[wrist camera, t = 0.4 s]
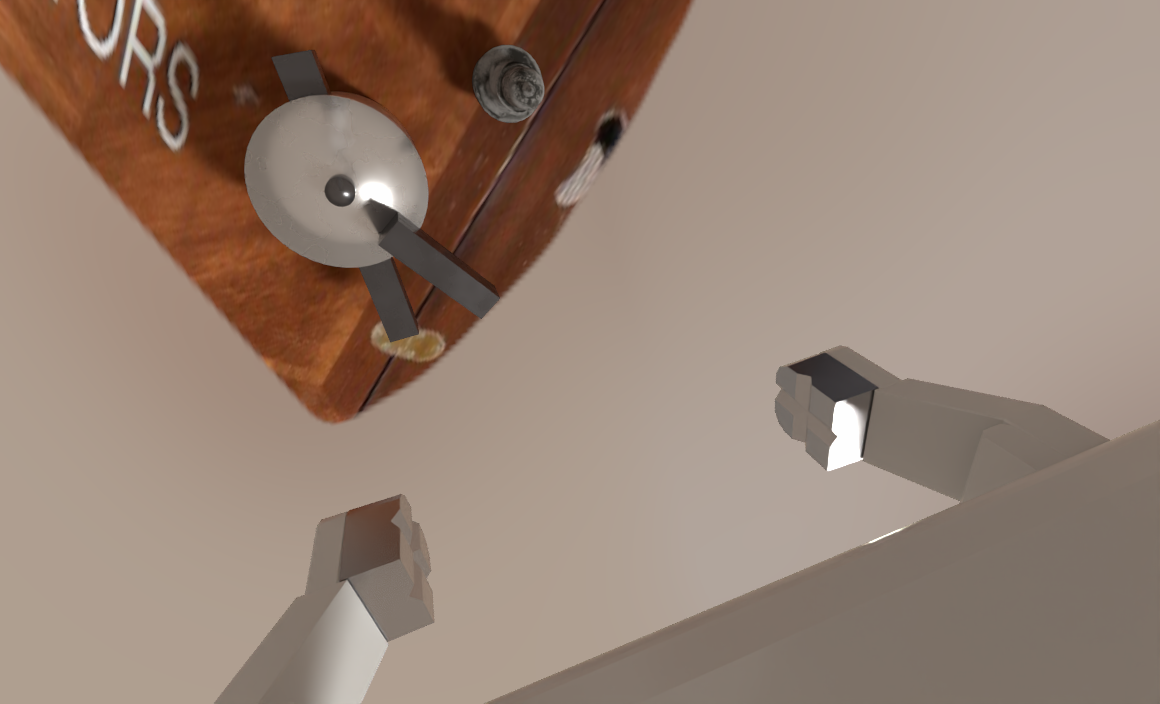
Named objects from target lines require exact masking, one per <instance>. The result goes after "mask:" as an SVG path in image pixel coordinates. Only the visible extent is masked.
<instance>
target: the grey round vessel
mask: <svg viewBox="0 0 1160 704" xmlns="http://www.w3.org/2000/svg"><path fill="white" fill-rule="evenodd" d="M472 83H473V90H474V93H475V96H476V98H477V99H478V101H479V103H480V104H481V106H482V108H483V109H484V110H485V111H486V112H487V113H488V114H489V115H490V116H492V117H493V118H495V119H497V120H499V121H503V122H506V123H512V122H518V121H521V120H524V119H526V118H527V117H528V116H530V115H531V114H532V113H533V112H534V111H535V109H536V108H537V106H538V105H539V104H540V102H541V101H542V99H543V96H544V84H543V80H542V76H541V72H540V69H539V67H538V65H537V63H536V61H535V60H534V59H533V58H532V57H531V55H530V54H529V53H527V52H526V51H524V50H523V49H521V48H519V47H516V46H513V45H500V46H497V47H494V48H492V49H491V50H489V51H488V52H486V53H485V54H484V55H483V56H482V57H481V58H480V59H479V61H478V62H477V63H476V66H475V68H474V71H473V77H472Z"/></svg>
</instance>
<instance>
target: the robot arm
mask: <svg viewBox="0 0 1160 704" xmlns="http://www.w3.org/2000/svg"><path fill="white" fill-rule="evenodd" d="M776 384H777V385H778V386H779V387H780V388H781V391H780V392H779V394H778V396H777V397H776V399H775V413H776V416H777V419H778V422H779V424H780V425H781V427H782V428H783V430H784V431H785V432H786V433H787V434H788V435H789V436H790V437H791V438H792V439H795V440H798V441H802V442H805V448H806V452H807V453H808V454H809V455H810V456H811V457H812V458H813V459H814V460H816V461H817V462H818V463H819V464H820V465H821V466H822V467H823V468H824V469H825V470H826V471H829V470H832V469H835V468H838V467H841V466H844V465H846V464H849V463H852V462H855V461H858V460H861V459H863V461H864V462H867V463H869V464H871V465H874V466H876V467H878V468H881V469H883V470H886V471H888V472H891V473H893V474H895V475H898V476H900V477H903V478H905V479H907V480H910V481H912V482H915V483H917V484H920V485H922V486H925V487H927V488H929V489H932V490H934V491H937V492H939V493H941V494H944V495H946V496H949V497H951V498H953V499H956V500H958V501H960V503H959V504H958V505H955V506H953V507H951V508H948V509H946V510H943V511H941V512H939V513H937V514H934V515H932V516H929V517H927V518H925V519H922V520H920V521H917V522H915V523H912V524H910V525H908V526H906V527H903V528H901V529H898V530H896V531H893V532H891V533H889V534H887V535H884V536H882V537H879V538H877V539H875V540H872V541H870V542H867V543H865V544H863V545H860V546H858V547H856V548H853V549H851V550H849V551H846V552H844V553H841V554H839V555H837V556H834V557H832V558H830V559H827V560H825V561H823V562H820V563H818V564H815V565H813V566H811V567H809V568H806V569H804V570H801V571H799V572H796V573H794V574H792V575H789V576H787V577H785V578H782V579H780V580H777V581H775V582H773V583H770V584H768V585H766V586H763V587H761V588H758V589H756V590H754V591H751V592H749V593H746V594H745V595H742V596H740V597H737V598H734V599H732V600H730V601H727V602H725V603H723V604H720V605H718V606H715V607H713V608H711V609H708V610H706V611H703V612H701V613H699V614H697V615H694V616H692V617H689V618H687V619H684V620H682V621H680V622H677V623H675V624H672V625H670V626H668V627H665V628H663V629H661V630H658V631H656V632H653V633H651V634H649V635H646V636H644V637H642V638H639V639H637V640H635V641H632V642H630V643H627V644H625V645H623V646H620V647H618V648H615V649H613V650H611V651H608V652H606V653H603V654H601V655H599V656H596V657H594V658H592V659H589V660H587V661H584V662H582V663H580V664H577V665H575V666H572V667H570V668H568V669H565V670H563V671H561V672H558V673H556V674H553V675H551V676H549V677H546V678H544V679H541V680H539V681H537V682H534V683H532V684H530V685H527V686H525V687H522V688H520V689H518V690H515V691H513V692H511V693H508V694H506V695H503V696H501V697H499V698H496V699H494V700H491V701H489V702H487V703H484V704H1160V420H1158V421H1155V422H1153V423H1151V424H1148V425H1146V426H1143V427H1141V428H1139V429H1137V430H1134V431H1132V432H1129V433H1127V434H1124V435H1122V436H1120V437H1117V438H1115V439H1113V440H1109V439H1107V438H1105V437H1103V436H1101V435H1099V434H1097V433H1095V432H1093V431H1092V430H1090V429H1088V428H1086V427H1084V426H1082V425H1080V424H1078V423H1076V422H1075V421H1073V420H1071V419H1069V418H1067V417H1065V416H1063V415H1061V414H1059V413H1057V412H1055V411H1053V410H1051V409H1050V408H1048V407H1046V406H1044V405H1039V404H1034V403H1030V402H1024V401H1019V400H1015V399H1010V398H1004V397H999V396H994V395H989V394H984V393H979V392H974V391H969V390H964V389H959V388H954V387H949V386H944V385H939V384H934V383H929V382H924V381H919V380H914V379H908V378H907V379H905V380H900V379H899V378H897V377H896V376H894V375H892V374H891V373H889V372H887V371H886V370H884V369H883V368H881V367H879V366H878V365H876V364H874V363H873V362H871V361H870V360H868V359H866V358H865V357H863V356H861V355H860V354H858V353H857V352H855V351H853V350H852V349H850V348H848V347H845V346H837V347H834V348H831V349H829V350H826V351H823V352H821V353H819V354H816V355H813V356H810V357H807V358H804V359H802V360H799V361H796V362H793V363H790V364H787V365H784V366H781V367H779V369H778V371H777V373H776ZM430 572H431V566H430V557H429V552H428V548H427V543H426V540H425V537H424V534H423V532H422V529H421V527H420V525H419V523H417V522H414V521H412V514H411V506H410V504H409V503H408V501H407V499H406V497H405V496H404V495H402V494H400V495H397V496H394V497H391V498H387V499H384V500H381V501H378V502H375V503H371V504H369V505H365V506H362V507H359V508H356V509H352V510H349V511H348V512H344V513H341V514H338V515H335V516H332V517H329V518H325V519H322V520H321V521H320V523H319V524H318V525H317V528H316V534H315V539H314V545H313V551H312V556H311V562H310V568H309V574H308V580H307V585H306V591H305V595H303V596H300V597H297V598H296V599H295V600H294V601H293V603H292V604H291V605H290V607H289V608H288V609H287V610H286V612H285V613H284V614H283V615H282V617H281V618H280V619H279V621H278V622H277V623H276V624H275V626H274V627H273V628H272V630H271V631H270V632H269V633H268V635H267V636H266V637H265V638H264V640H263V641H262V642H261V644H260V645H259V646H258V647H257V649H256V650H255V651H254V653H253V654H252V655H251V656H250V658H249V659H248V660H247V662H246V663H245V664H244V666H243V667H242V668H241V669H240V670H239V672H238V673H237V674H236V676H235V677H234V678H233V680H232V681H231V682H230V683H229V685H228V686H227V687H226V688H225V690H224V691H223V692H222V694H221V695H220V696H219V697H218V699H217V700H216V701H215V702H214V704H361V702H362V700H363V698H364V696H365V694H366V692H367V689H368V687H369V685H370V683H371V681H372V679H373V677H374V674H375V672H376V670H377V668H378V666H379V664H380V662H381V659H382V657H383V655H384V653H385V651H386V649H387V647H388V643H387V642H388V641H391V640H393V639H396V638H398V637H400V636H403V635H405V634H408V633H410V632H412V631H415V630H417V629H420V628H422V627H425V626H427V625H429V624H432V623H434V609H433V593H432V589H431V587H430V585H429V583H428V581H427V579H426V578H427V576H428V575H429V573H430Z"/></svg>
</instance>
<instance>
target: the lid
mask: <svg viewBox="0 0 1160 704" xmlns="http://www.w3.org/2000/svg"><path fill="white" fill-rule="evenodd" d="M244 171H245V182H246V186H247V191H248V194H249V197H250V200H251V202H252V205H253V207H254V209H255V211H256V212H257V214H258V216H259V217H260V219H261V220H262V222H263V223H264V225H265V226H266V227H267V228H268V229H269V231H270V232H271V233H272V234H273V235H274V236H275V237H276V238H277V239H278V240H280V241H281V242H282V243H283V244H284V245H286V246H287V247H289V248H290V249H291V250H293V251H295V252H296V253H298V254H300V255H302V256H303V257H306V258H308V259H310V260H313V261H315V262H319V263H322V264H325V265H330V266H335V267H345V268H353V267H364V266H370V265H373V264H377V263H380V262H383V261H385V260H387V259H389V258H391V257H393V256H394V257H395V258H397V259H398V260H399V261H401V262H402V263H404V264H405V265H407V266H408V267H409V268H411V269H412V270H414V271H415V272H416V273H418V274H419V275H421V276H422V277H423V278H425V279H426V280H428V281H429V282H430V283H432V284H433V285H435V286H436V287H437V288H439V289H440V290H442V291H443V292H444V293H446V294H447V295H449V296H450V297H451V298H453V299H454V300H456V301H457V302H458V303H460V304H461V305H463V306H464V307H465V308H467V309H468V310H470V311H471V312H472V313H474V314H475V315H477V316H478V317H479V318H481V319H482V318H483V317H484V316H485V314H486V313H487V312H488V311H489V310H490V309H491V308H492V307H493V306H494V304H495V303H496V302H497V301H498V300H499V299H500V297H499V295H498V293H497V290H496V288H495V286H494V285H493V284H491V283H490V282H489V281H487V280H486V279H485V278H483V277H482V276H481V275H480V274H478V273H477V272H476V271H474V270H473V269H472V268H470V267H469V266H468V265H467V264H465V263H464V262H463V261H461V260H460V259H459V258H458V257H456V256H455V255H454V254H452V253H451V252H450V251H448V250H447V249H446V248H445V247H443V246H442V245H441V244H439V243H438V242H437V241H435V240H434V239H433V238H432V237H430V236H429V235H428V234H426V233H425V232H424V231H423V230H421V229H420V227H421V225H422V223H423V220H424V218H425V215H426V210H427V205H428V183H427V178H426V173H425V170H424V167H423V164H422V161H421V158H420V156H419V154H418V152H417V150H416V148H415V147H414V145H413V143H412V142H411V140H410V139H409V138H408V136H407V135H406V134H405V133H404V131H403V130H402V129H401V128H400V127H399V126H398V125H397V124H396V123H395V122H394V121H393V120H391V119H390V118H389V117H387V116H386V115H385V114H384V113H382V112H380V111H379V110H377V109H375V108H374V107H372V106H370V105H368V104H365V103H363V102H361V101H358V100H355V99H352V98H348V97H343V96H338V95H325V94H322V95H310V96H306V97H301V98H298V99H295V100H293V101H290V102H287V103H285V104H284V105H282V106H280V107H278V108H277V109H275V110H274V111H272V112H271V113H270V114H269V115H268V116H266V117H265V118H264V120H263V121H262V122H261V123H260V124H259V125H258V127H257V128H256V130H255V132H254V133H253V135H252V137H251V139H250V142H249V144H248V147H247V152H246V156H245V167H244Z"/></svg>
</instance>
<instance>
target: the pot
mask: <svg viewBox="0 0 1160 704" xmlns="http://www.w3.org/2000/svg"><path fill="white" fill-rule="evenodd" d="M271 58H272V60H273V63H274V65H275V68H276V70H277V72H278V75H279V77H280V80H281V82H282V84H283V87H284V89H285V91H286V94H287V96H288V99H289V101H293V100H295V99H298V98H301V97H306V96H310V95H322V94H325V95H338V96H343V97H348V98H352V99H355V100H358V101H361V102H363V103H365V104H368V105H370V106H372V107H374V108H375V109H377V110H379V111H380V112H382V113H384V114H385V115H386V116H387V117H389V118H390V119H391V120H393V121H394V122H395V123H396V124H397V125H398V126H399V127H400V128H401V129H402V130H403V131H404V133H405V134H406V135H407V136H408V138H409V139H410V140H411V142H412V143H413V145H414V142H413V140H412V138H411V137H410V135H409V133H408V132H407V130H406V129H405V127H404V126H403V125H402V123H401V122H400V121H399V120H398V119H397V118H396V117H395V116H394V115H393V114H392V113H391V112H390V111H389V110H387V109H386V108H384V107H383V106H382V105H380V104H378V103H377V102H375V101H373V100H371V99H369V98H366V97H364V96H361V95H358V94H354V93H349V92H343V91H330V89H329V86H328V84H327V81H326V78H325V76H324V73H323V70H322V68H321V65H320V62H319V60H318V57H317V54H316V52H315V50H308V51H303V52H297V53H292V54H286V55H280V56H275V57H271ZM414 147H415V145H414ZM415 148H416V147H415ZM359 268H360V271H361V273H362V276H363V278H364V280H365V283H366V285H367V288H368V290H369V292H370V295H371V297H372V299H373V302H374V304H375V307H376V309H377V311H378V314H379V316H380V319H381V321H382V323H383V326H384V328H385V331H386V333H387V335H388V338H389V340H390V342H393V341H397V340H400V339H404V338H407V337H411V336H414V335H418V334H419V330H418V323H417V320H416V317H415V315H414V312H413V309H412V307H411V304H410V302H409V299H408V296H407V294H406V291H405V288H404V286H403V283H402V280H401V278H400V275H399V272H398V270H397V267H396V264H395V262H394V259H393V257H391V258H389V259H387V260H385V261H383V262H380V263H377V264H373V265H370V266H364V267H359Z"/></svg>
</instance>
